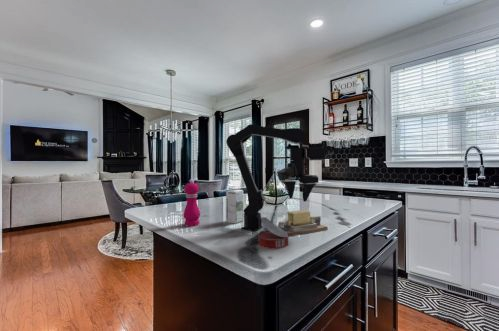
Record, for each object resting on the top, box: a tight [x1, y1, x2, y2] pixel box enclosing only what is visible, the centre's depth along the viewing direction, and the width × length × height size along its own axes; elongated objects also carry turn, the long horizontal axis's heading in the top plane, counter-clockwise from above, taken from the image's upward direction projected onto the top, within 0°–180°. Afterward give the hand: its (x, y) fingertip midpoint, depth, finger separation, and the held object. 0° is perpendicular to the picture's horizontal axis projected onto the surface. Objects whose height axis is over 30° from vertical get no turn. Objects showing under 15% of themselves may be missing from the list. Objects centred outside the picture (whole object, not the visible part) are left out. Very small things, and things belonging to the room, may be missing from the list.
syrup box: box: [225, 188, 244, 224], centre depth 111 cm, size 6×6×14 cm
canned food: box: [258, 216, 289, 250], centre depth 81 cm, size 11×10×10 cm
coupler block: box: [286, 209, 311, 227], centre depth 97 cm, size 4×8×6 cm, turn 115°
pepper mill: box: [182, 178, 201, 227], centre depth 107 cm, size 7×7×20 cm
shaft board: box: [277, 215, 329, 237], centre depth 97 cm, size 10×20×4 cm, turn 115°
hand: (297, 199), depth 97 cm, fingers open, 9 cm apart
